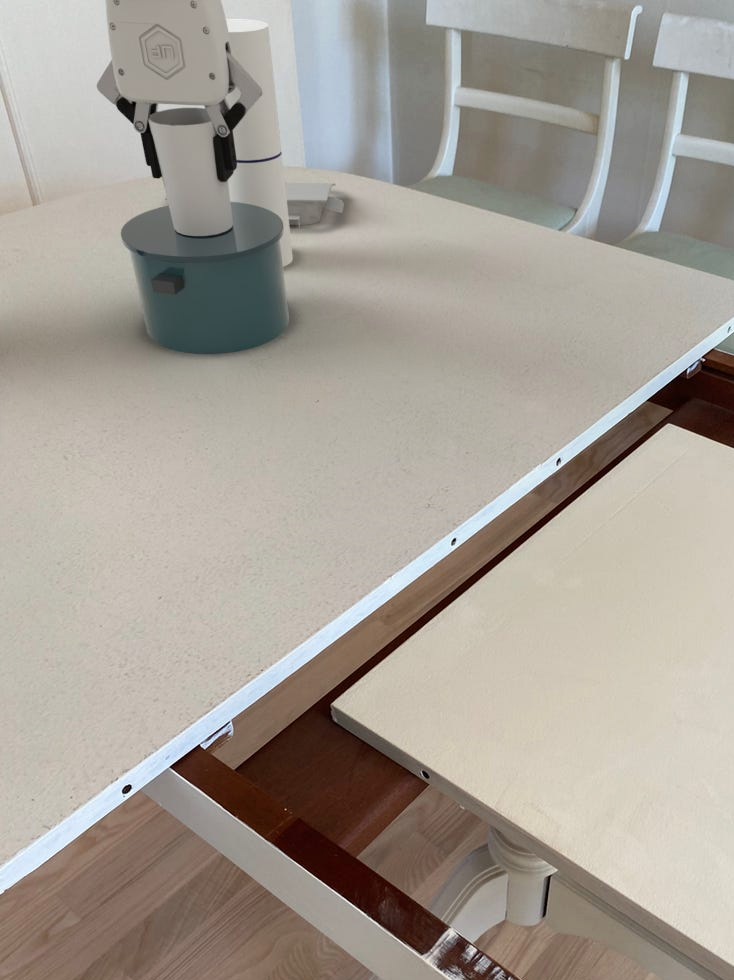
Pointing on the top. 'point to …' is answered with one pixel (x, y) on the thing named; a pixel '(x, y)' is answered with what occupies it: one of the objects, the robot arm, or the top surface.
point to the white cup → (191, 171)
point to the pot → (210, 281)
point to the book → (309, 202)
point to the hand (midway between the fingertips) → (193, 174)
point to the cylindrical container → (258, 130)
